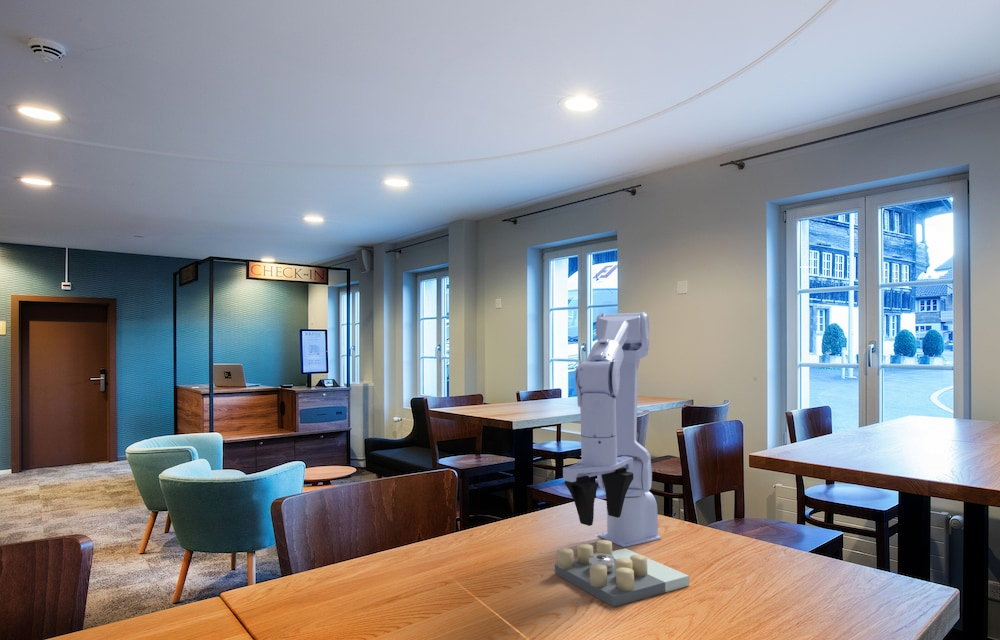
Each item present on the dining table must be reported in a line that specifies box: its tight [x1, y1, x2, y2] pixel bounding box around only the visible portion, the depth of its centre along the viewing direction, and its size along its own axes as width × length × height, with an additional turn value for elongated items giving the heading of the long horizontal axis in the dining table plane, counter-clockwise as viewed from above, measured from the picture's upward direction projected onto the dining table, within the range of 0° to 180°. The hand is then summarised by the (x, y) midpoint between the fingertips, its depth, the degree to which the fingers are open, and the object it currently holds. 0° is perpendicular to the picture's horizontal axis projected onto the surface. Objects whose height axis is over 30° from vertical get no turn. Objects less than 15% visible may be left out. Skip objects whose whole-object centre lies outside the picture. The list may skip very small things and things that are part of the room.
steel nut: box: [589, 552, 614, 574], centre depth 98 cm, size 4×4×2 cm
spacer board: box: [554, 539, 690, 608], centre depth 98 cm, size 15×15×4 cm
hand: (600, 520), depth 98 cm, fingers open, 6 cm apart
